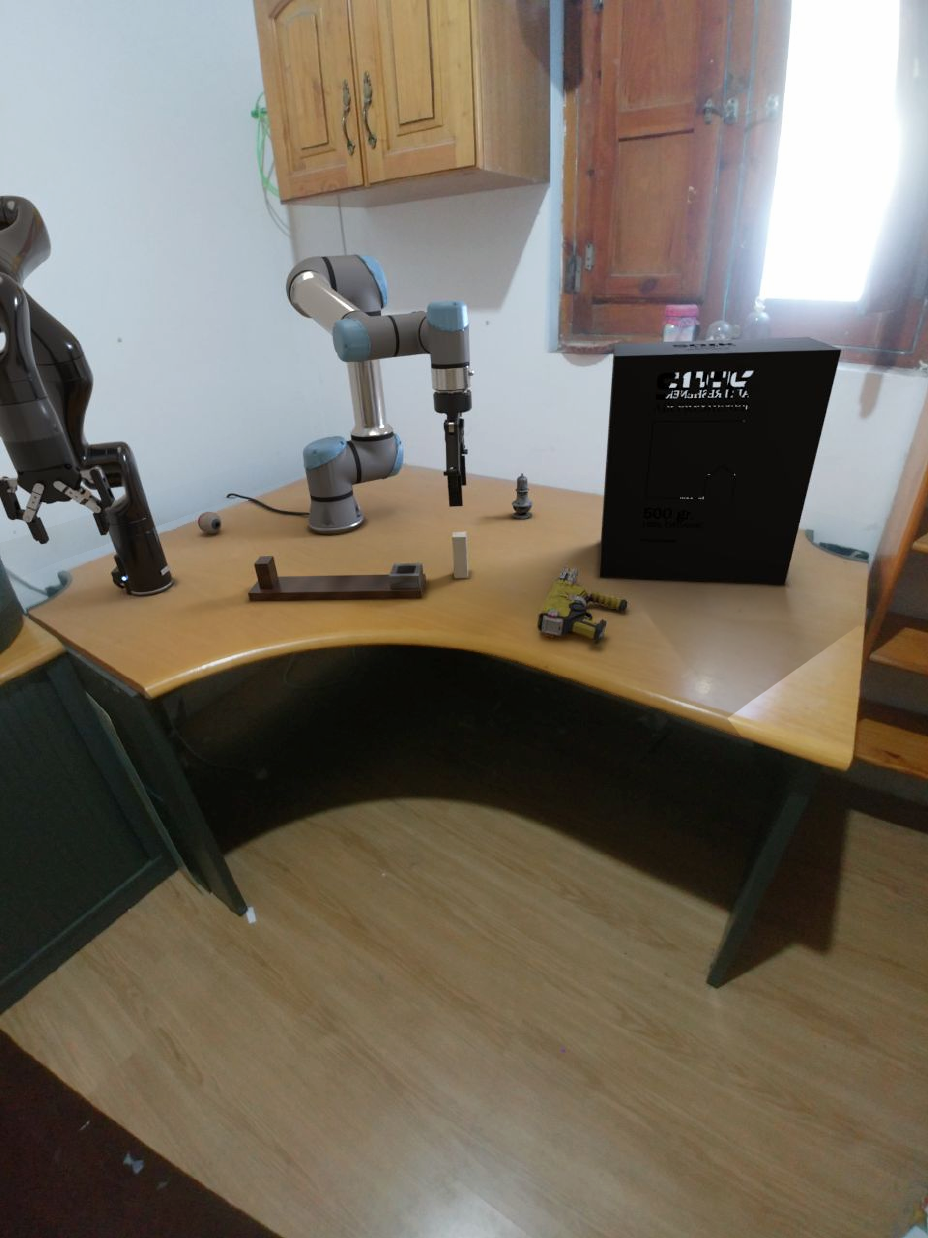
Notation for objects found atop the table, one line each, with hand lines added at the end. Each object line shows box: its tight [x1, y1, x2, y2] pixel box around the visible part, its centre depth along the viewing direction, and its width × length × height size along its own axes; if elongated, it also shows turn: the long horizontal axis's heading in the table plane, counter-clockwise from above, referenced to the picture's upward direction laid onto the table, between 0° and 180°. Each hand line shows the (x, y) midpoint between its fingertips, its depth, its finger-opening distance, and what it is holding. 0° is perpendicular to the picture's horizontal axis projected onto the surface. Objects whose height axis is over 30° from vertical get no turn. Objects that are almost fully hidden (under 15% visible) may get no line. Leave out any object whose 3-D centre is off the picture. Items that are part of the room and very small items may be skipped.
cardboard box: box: [599, 336, 842, 586], centre depth 126 cm, size 38×20×45 cm, turn 78°
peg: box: [451, 531, 470, 579], centre depth 135 cm, size 3×3×10 cm
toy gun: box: [536, 566, 629, 645], centre depth 118 cm, size 5×24×15 cm
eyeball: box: [197, 511, 222, 534], centre depth 167 cm, size 6×6×6 cm
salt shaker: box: [511, 472, 534, 520], centre depth 165 cm, size 6×6×12 cm
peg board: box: [247, 555, 427, 602], centre depth 132 cm, size 38×8×8 cm, turn 86°
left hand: (75, 537), depth 94 cm, fingers open, 8 cm apart
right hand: (458, 495), depth 128 cm, fingers open, 13 cm apart
